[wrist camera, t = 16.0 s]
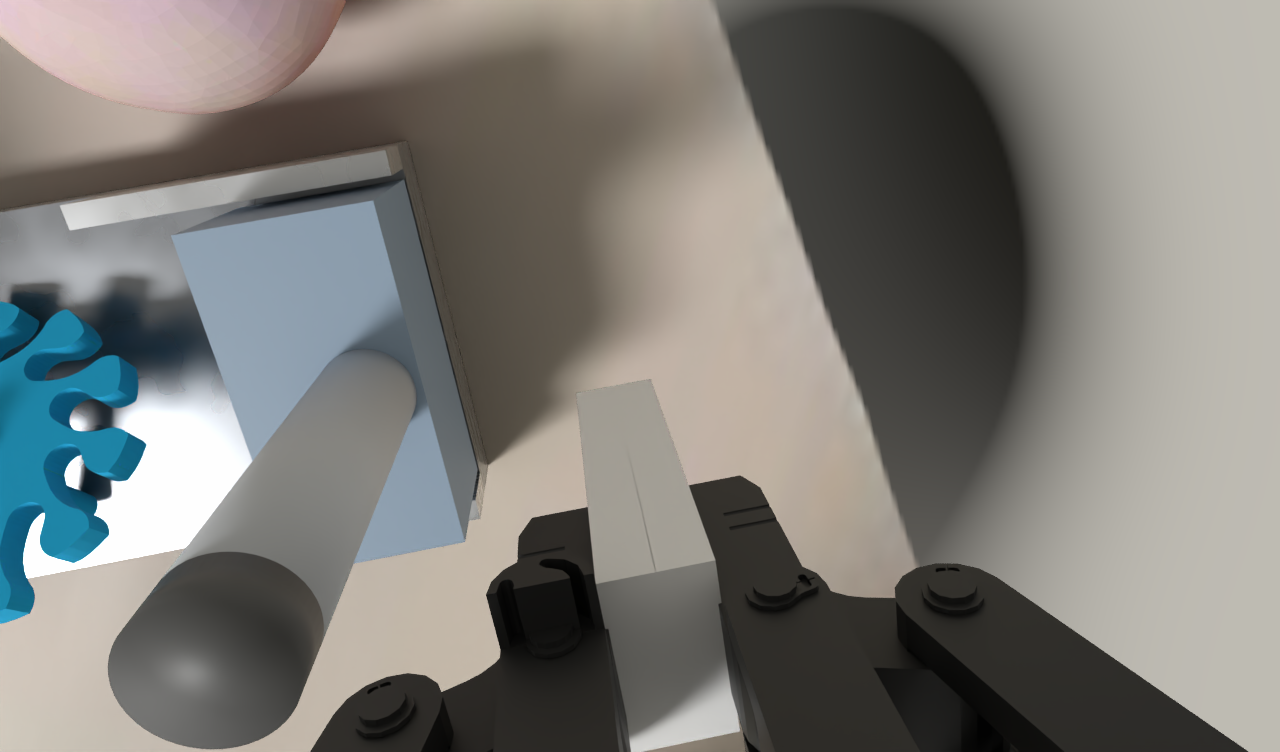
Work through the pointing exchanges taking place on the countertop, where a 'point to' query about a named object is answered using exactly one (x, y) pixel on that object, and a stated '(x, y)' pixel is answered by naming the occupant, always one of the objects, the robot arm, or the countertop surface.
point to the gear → (54, 444)
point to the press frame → (172, 335)
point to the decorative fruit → (172, 47)
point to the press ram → (300, 456)
